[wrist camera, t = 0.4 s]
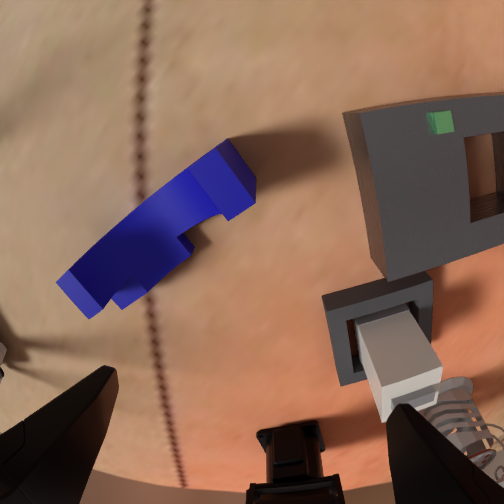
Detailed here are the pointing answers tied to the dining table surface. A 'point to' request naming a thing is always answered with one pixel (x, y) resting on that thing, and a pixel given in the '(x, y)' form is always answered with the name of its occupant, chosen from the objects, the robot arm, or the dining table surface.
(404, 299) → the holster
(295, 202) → the dining table surface
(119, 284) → the cable clip
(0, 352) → the wireless router
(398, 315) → the plug
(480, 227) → the port panel
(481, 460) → the french press
